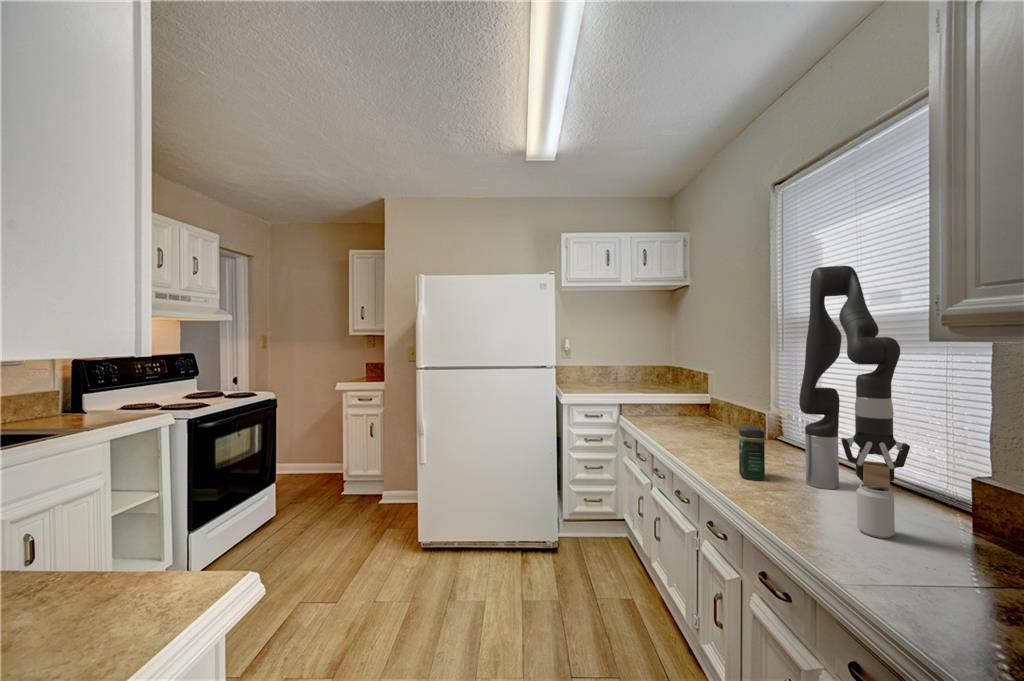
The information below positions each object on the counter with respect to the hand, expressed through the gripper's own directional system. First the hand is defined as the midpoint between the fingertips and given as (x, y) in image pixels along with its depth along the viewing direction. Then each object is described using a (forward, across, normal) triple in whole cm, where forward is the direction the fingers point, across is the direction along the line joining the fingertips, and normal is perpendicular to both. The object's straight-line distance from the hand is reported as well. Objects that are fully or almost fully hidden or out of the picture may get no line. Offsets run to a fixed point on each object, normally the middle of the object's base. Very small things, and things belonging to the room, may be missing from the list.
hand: (874, 480), depth 112 cm
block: (+1, 0, 0) cm, 1 cm away
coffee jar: (+14, +29, -37) cm, 49 cm away
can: (+14, 0, 0) cm, 14 cm away
